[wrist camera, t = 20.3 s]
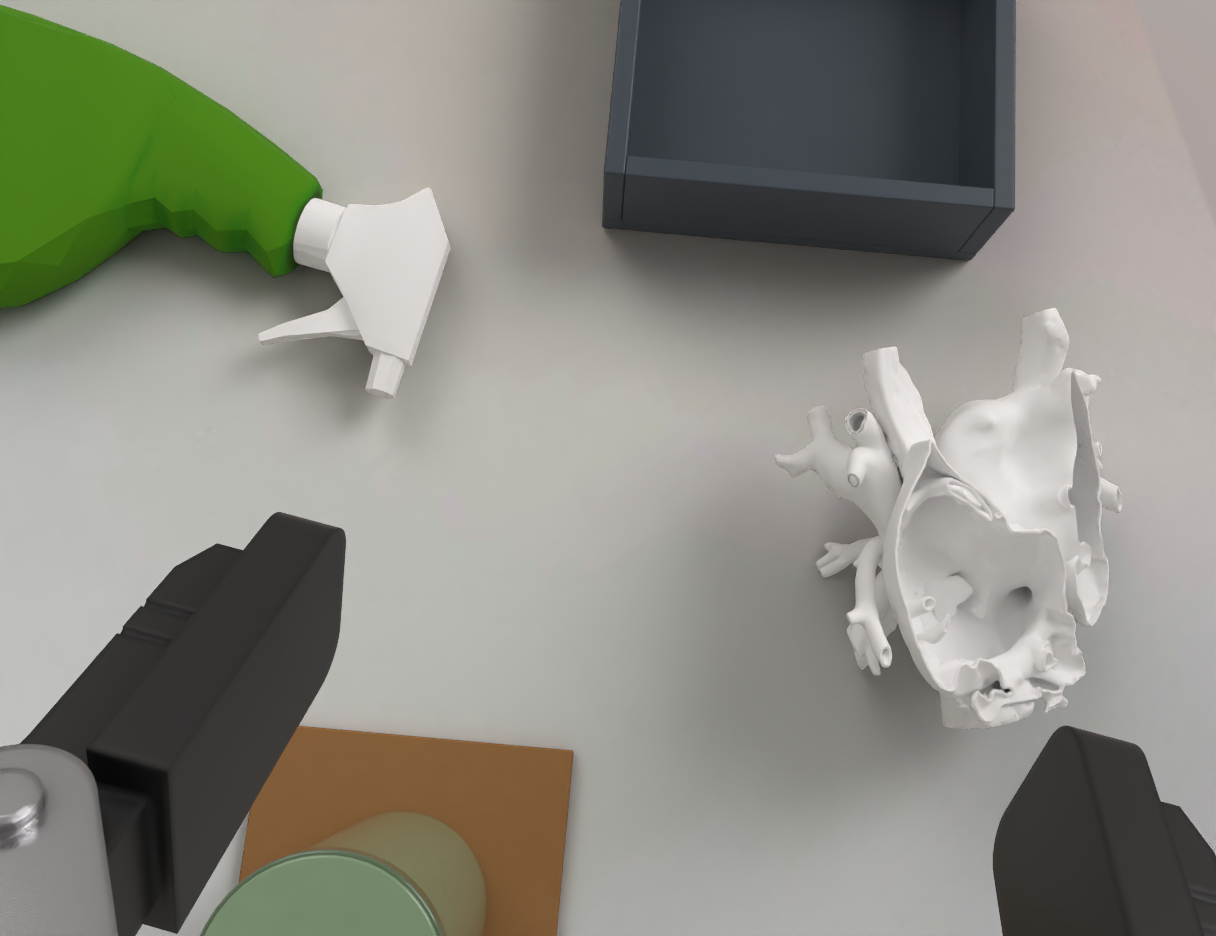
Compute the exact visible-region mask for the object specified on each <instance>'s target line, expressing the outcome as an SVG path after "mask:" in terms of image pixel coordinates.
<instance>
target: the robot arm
mask: <svg viewBox="0 0 1216 936" xmlns="http://www.w3.org/2000/svg"><path fill="white" fill-rule="evenodd" d="M345 549H346V537H345V532H344V530H343V529H341V528H338V527H334V526H330V525H326V524H323V523H319V522H315V521H312V520H308V519H304V518H300V517H297V516H293V515H289V514H286V513H282V512H277V513H274V514H273V515H272V516H271V517H270V518H269V519H268V520H267V521H266V522H265V524H264V525H263V526H262V527H261V529H260V530H259V531H258V533H257V534H256V535H255V536H254V538H253V539H252V540H251V541H250V543H249V544H248V545H247V546H246V548H245V549H244V550H239V549H236V548H232V547H228V546H225V545H221V544H215V545H214V546H212V547H210V548H208V549H206V550H205V551H203V552H201V553H199V554H197V555H195V556H194V557H192V558H190V559H188V560H186V561H185V562H183V563H181V564H179V565H177V566H175V567H174V568H173V569H172V571H171V572H170V573H169V574H168V575H167V576H166V577H165V579H164V580H163V581H162V582H161V583H160V584H159V586H158V587H157V588H156V589H155V590H154V591H153V592H152V594H151V595H150V596H149V597H148V598H147V599H146V604H145V606H144V607H143V606H140V607H139V609H138V610H137V611H136V612H135V613H134V614H133V615H132V617H131V618H130V619H129V620H128V621H127V622H126V624H125V625H124V626H123V630H122V632H121V634H118V633H117V634H116V635H115V636H114V637H113V639H112V640H111V641H110V642H109V643H108V644H107V645H106V647H105V648H104V649H103V650H102V651H101V652H100V653H99V655H98V656H97V657H96V658H95V659H94V660H93V662H92V663H91V664H90V665H89V666H88V667H87V668H86V670H85V671H84V672H83V673H82V674H81V675H80V677H79V678H78V679H77V680H76V681H75V682H74V683H73V685H72V686H71V687H70V688H69V689H68V690H67V691H66V693H65V694H64V695H63V696H62V697H61V698H60V700H59V701H58V702H57V703H56V704H55V705H54V706H53V708H52V709H51V710H50V711H49V712H48V713H47V714H46V716H45V717H44V718H43V719H42V720H41V721H40V723H39V724H38V725H37V726H36V727H35V728H34V729H33V731H32V732H31V733H30V734H29V735H28V736H27V737H26V738H25V739H24V740H23V741H22V742H21V743H20V744H16V745H10V746H3V747H0V936H135V935H136V934H137V932H138V930H139V929H140V927H141V926H142V924H145V925H149V926H152V927H156V928H159V929H162V930H166V931H169V932H173V933H176V934H177V933H178V932H179V930H180V928H181V926H182V925H183V923H184V921H185V920H186V918H187V916H188V914H189V913H190V911H191V909H192V908H193V906H194V904H195V902H196V901H197V899H198V897H199V895H200V894H201V892H202V890H203V889H204V887H205V885H206V883H207V882H208V880H209V878H210V877H211V875H212V873H213V871H214V870H215V868H216V866H217V865H218V863H219V861H220V859H221V858H222V856H223V854H224V853H225V851H226V849H227V847H228V846H229V844H230V842H231V841H232V839H233V837H234V835H235V834H236V832H237V830H238V829H239V827H240V825H241V823H242V822H243V820H244V818H245V817H246V815H247V813H248V811H249V810H250V808H251V806H252V805H253V803H254V801H255V799H256V798H257V796H258V794H259V793H260V791H261V789H262V787H263V786H264V784H265V782H266V781H267V779H268V777H269V775H270V774H271V772H272V770H273V768H274V767H275V765H276V763H277V762H278V760H279V758H280V756H281V755H282V753H283V751H284V750H285V748H286V746H287V744H288V743H289V741H290V739H291V738H292V736H293V734H294V732H295V731H296V729H297V727H298V726H299V724H300V722H301V720H302V719H303V717H304V715H305V714H306V712H307V710H308V708H309V707H310V705H311V703H312V702H313V700H314V698H315V696H316V695H317V693H318V691H319V690H320V688H321V686H322V684H323V682H324V680H325V678H326V676H327V674H328V671H329V669H330V666H331V664H332V661H333V658H334V655H335V651H336V647H337V643H338V639H339V633H340V621H341V607H342V592H343V578H344V563H345ZM993 873H994V880H995V887H996V893H997V900H998V906H999V913H1000V919H1001V926H1002V933H1003V936H1216V856H1215V853H1214V852H1213V850H1212V849H1211V848H1210V846H1209V845H1208V844H1207V842H1206V841H1205V840H1204V838H1203V837H1202V836H1201V834H1200V833H1199V832H1198V830H1197V829H1196V828H1195V826H1194V825H1193V824H1192V822H1191V821H1190V820H1189V818H1188V817H1187V816H1186V814H1185V813H1184V812H1183V810H1182V809H1181V808H1180V807H1179V806H1175V805H1172V804H1168V803H1164V802H1161V801H1160V799H1159V796H1158V793H1157V790H1156V787H1155V784H1154V781H1153V778H1152V775H1151V772H1150V769H1149V766H1148V762H1147V759H1146V757H1145V755H1144V753H1143V751H1142V750H1141V748H1140V747H1138V746H1137V745H1135V744H1133V743H1129V742H1126V741H1122V740H1118V739H1114V738H1111V737H1107V736H1103V735H1100V734H1096V733H1092V732H1088V731H1085V730H1081V729H1077V728H1074V727H1070V726H1062V727H1060V728H1058V729H1057V730H1056V731H1055V732H1054V733H1053V734H1052V736H1051V737H1050V739H1049V740H1048V742H1047V744H1046V745H1045V747H1044V749H1043V750H1042V752H1041V753H1040V755H1039V757H1038V758H1037V760H1036V762H1035V763H1034V765H1033V766H1032V768H1031V770H1030V771H1029V773H1028V775H1027V776H1026V778H1025V780H1024V781H1023V783H1022V784H1021V786H1020V788H1019V789H1018V791H1017V793H1016V794H1015V796H1014V798H1013V799H1012V801H1011V802H1010V804H1009V806H1008V807H1007V809H1006V811H1005V812H1004V814H1003V816H1002V818H1001V821H1000V823H999V826H998V830H997V833H996V838H995V843H994V851H993Z"/></svg>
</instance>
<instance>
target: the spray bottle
mask: <svg viewBox="0 0 1216 936" xmlns="http://www.w3.org/2000/svg"><path fill="white" fill-rule="evenodd" d="M322 191H323V190H322V188H321V186H320V184H319V182H318V181H317V179H316V177H315V176H313V175H312V174H311V173H310V172H308V171H307V170H306V169H305V168H304V167H302V166H301V165H300V164H299V163H297V162H296V161H295V160H294V159H293V158H291V157H290V156H289V155H288V154H287V153H285V152H284V151H283V150H282V149H280V148H279V147H278V146H277V145H275V144H274V143H273V142H271V141H270V140H269V139H267V138H266V137H265V136H263V135H262V134H261V133H259V132H258V131H257V130H255V129H254V128H253V127H251V126H250V125H249V124H247V123H246V122H245V121H243V120H242V119H240V118H239V117H238V116H236V115H235V114H234V113H232V112H231V111H230V110H228V109H227V108H225V107H223V106H222V105H220V104H219V103H217V102H215V101H214V100H212V99H211V98H209V97H207V96H206V95H204V94H203V93H201V92H199V91H198V90H196V89H195V88H193V87H191V86H190V85H188V84H187V83H185V82H184V81H182V80H180V79H179V78H177V77H176V76H174V75H172V74H171V73H169V72H168V71H166V70H164V69H163V68H161V67H159V66H157V65H155V64H153V63H151V62H149V61H146V60H144V59H142V58H140V57H138V56H136V55H134V54H132V53H130V52H128V51H125V50H123V49H121V48H119V47H117V46H115V45H113V44H110V43H108V42H105V41H102V40H100V39H97V38H94V37H91V36H89V35H86V34H83V33H81V32H78V31H75V30H73V29H70V28H67V27H64V26H62V25H59V24H56V23H54V22H51V21H48V20H45V19H43V18H40V17H37V16H35V15H32V14H28V13H25V12H22V11H19V10H15V9H12V8H9V7H6V6H2V5H0V308H6V307H16V306H23V305H26V304H28V303H30V302H32V301H34V300H36V299H38V298H41V297H43V296H45V295H47V294H49V293H51V292H53V291H55V290H58V289H60V288H62V287H64V286H66V285H68V284H70V283H72V282H75V281H77V280H78V279H80V278H81V277H83V276H84V275H86V274H87V273H88V272H90V271H91V270H93V269H94V268H95V267H97V266H98V265H100V264H101V263H103V262H104V261H105V260H107V259H108V258H110V257H111V256H112V255H114V254H115V253H117V252H118V251H119V250H120V249H122V248H123V247H124V246H125V245H126V244H128V243H129V242H130V241H131V240H133V239H134V238H135V237H136V236H137V235H139V234H140V233H141V232H142V231H144V230H152V229H161V228H168V229H169V230H171V231H172V232H173V233H175V234H176V235H178V236H179V237H180V238H183V237H189V236H195V235H198V236H199V237H200V238H202V239H203V240H204V241H206V242H207V243H208V244H209V245H211V246H212V247H213V248H215V249H216V250H219V251H221V252H249V253H250V254H251V256H252V257H253V258H254V259H255V260H256V261H257V262H258V263H259V264H260V265H261V266H262V267H263V268H264V269H265V270H266V271H267V272H268V273H269V274H270V275H271V276H273V277H274V278H276V277H279V276H282V275H285V274H288V273H290V272H291V271H293V270H294V269H295V268H297V267H298V266H299V265H300V264H301V265H305V266H308V267H312V268H315V269H319V270H323V271H326V272H330V273H331V275H332V277H333V279H334V281H335V283H336V284H337V286H338V288H339V290H340V292H341V293H342V295H343V298H342V299H340V300H339V301H338V302H337V303H335V304H334V305H333V306H332V307H330V308H329V309H328V310H325V311H322V312H318V313H315V314H312V315H308V316H305V317H302V318H299V319H295V320H292V321H289V322H286V323H283V324H280V325H278V326H275V327H273V328H270V329H268V330H266V331H263V332H261V333H258V336H259V339H260V341H261V343H262V344H263V345H265V344H273V343H281V342H289V341H297V340H305V339H313V338H321V337H329V336H334V337H341V338H349V339H356V340H364V342H365V345H366V347H367V348H368V350H369V352H370V353H371V354H372V355H373V359H372V364H371V368H370V372H369V376H368V381H367V385H366V390H367V392H368V393H371V394H373V395H375V396H378V397H383V398H387V399H391V398H395V395H396V392H397V389H398V386H399V383H400V380H401V378H402V375H403V372H404V369H405V366H409V367H411V366H412V363H413V360H414V357H415V354H416V351H417V348H418V345H419V342H420V339H421V336H422V333H423V330H424V327H425V324H426V321H427V318H428V315H429V312H430V309H431V306H432V303H433V300H434V297H435V294H436V291H437V288H438V285H439V282H440V279H441V276H442V273H443V270H444V267H445V264H446V261H447V258H448V255H449V252H450V249H451V246H450V243H449V241H448V238H447V235H446V232H445V229H444V226H443V223H442V220H441V217H440V214H439V211H438V208H437V205H436V202H435V199H434V197H433V194H432V191H431V188H425V189H423V190H421V191H419V192H418V193H416V194H414V195H412V196H410V197H408V198H407V199H405V200H403V201H400V202H394V203H389V204H383V205H378V206H376V205H360V204H349V205H348V206H347V208H346V207H343V206H340V205H337V204H334V203H331V202H327V201H324V200H322Z"/></svg>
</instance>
